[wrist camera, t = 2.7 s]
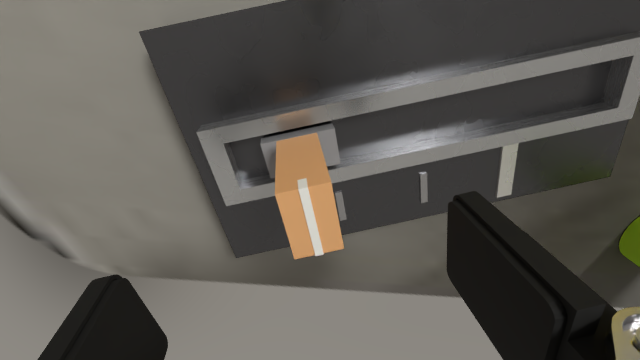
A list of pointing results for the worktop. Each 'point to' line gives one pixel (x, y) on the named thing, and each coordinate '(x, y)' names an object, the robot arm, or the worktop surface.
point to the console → (401, 101)
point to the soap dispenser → (631, 242)
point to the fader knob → (305, 187)
